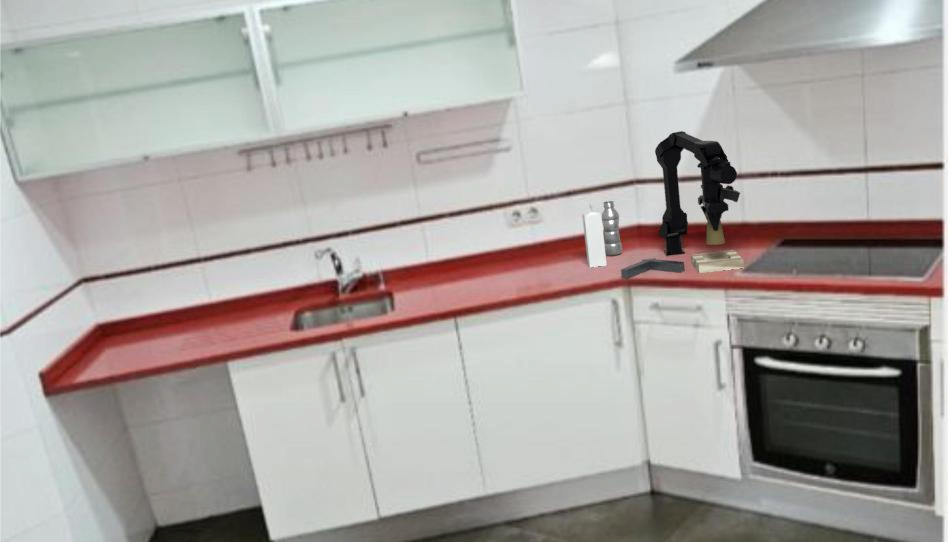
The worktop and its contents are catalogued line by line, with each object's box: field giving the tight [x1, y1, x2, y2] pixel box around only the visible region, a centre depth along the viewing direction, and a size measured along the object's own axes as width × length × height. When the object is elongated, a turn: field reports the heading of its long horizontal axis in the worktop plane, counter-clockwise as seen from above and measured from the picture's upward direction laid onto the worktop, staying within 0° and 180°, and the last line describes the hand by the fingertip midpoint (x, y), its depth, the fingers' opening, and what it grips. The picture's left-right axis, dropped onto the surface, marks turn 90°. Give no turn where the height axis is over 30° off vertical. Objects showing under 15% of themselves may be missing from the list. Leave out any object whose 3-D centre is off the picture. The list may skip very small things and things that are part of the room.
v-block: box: [620, 258, 686, 280], centre depth 271 cm, size 12×20×3 cm, turn 85°
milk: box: [581, 203, 608, 269], centre depth 288 cm, size 6×6×22 cm
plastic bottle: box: [601, 200, 623, 256], centre depth 300 cm, size 6×7×20 cm
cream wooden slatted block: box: [690, 249, 745, 274], centre depth 266 cm, size 14×14×3 cm
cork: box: [704, 213, 726, 246], centre depth 263 cm, size 6×6×11 cm
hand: (714, 229), depth 264 cm, fingers closed on cork, 4 cm apart
